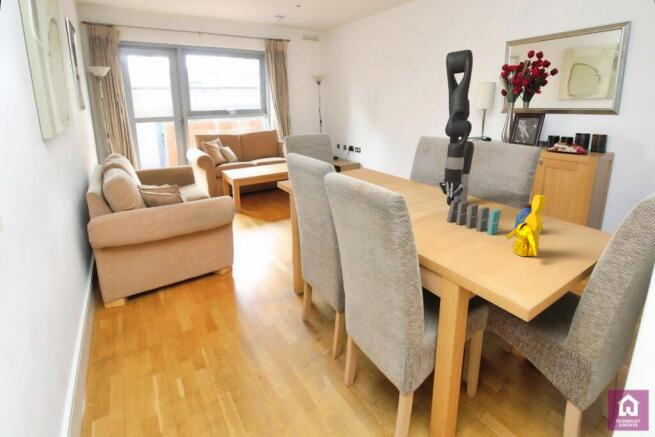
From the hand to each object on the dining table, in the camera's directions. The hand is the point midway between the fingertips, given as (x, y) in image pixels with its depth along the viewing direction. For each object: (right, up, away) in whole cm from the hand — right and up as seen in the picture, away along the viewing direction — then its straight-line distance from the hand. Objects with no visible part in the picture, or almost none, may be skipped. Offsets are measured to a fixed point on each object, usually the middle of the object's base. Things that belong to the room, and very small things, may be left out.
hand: (450, 204), depth 165 cm
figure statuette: (+16, -19, -33) cm, 41 cm away
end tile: (+13, -13, -14) cm, 23 cm away
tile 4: (+10, -11, -10) cm, 18 cm away
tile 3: (+7, -10, -6) cm, 14 cm away
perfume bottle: (+27, -12, -12) cm, 32 cm away
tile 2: (+4, -9, -2) cm, 10 cm away
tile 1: (+1, -7, +1) cm, 8 cm away
